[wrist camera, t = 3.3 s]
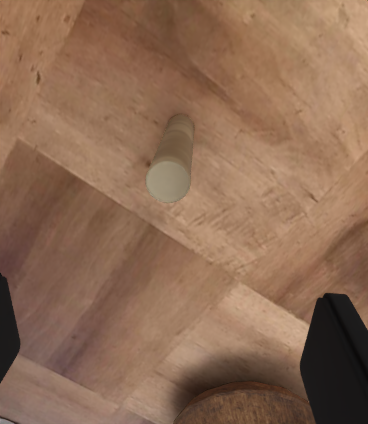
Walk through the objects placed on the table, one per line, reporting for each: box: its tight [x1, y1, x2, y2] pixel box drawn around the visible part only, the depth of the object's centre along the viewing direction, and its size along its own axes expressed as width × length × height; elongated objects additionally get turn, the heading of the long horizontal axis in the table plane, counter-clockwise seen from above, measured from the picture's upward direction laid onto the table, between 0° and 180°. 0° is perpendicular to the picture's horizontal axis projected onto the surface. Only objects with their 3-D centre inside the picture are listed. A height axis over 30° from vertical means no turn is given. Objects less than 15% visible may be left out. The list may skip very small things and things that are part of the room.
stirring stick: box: [146, 114, 194, 203], centre depth 25 cm, size 2×2×14 cm
